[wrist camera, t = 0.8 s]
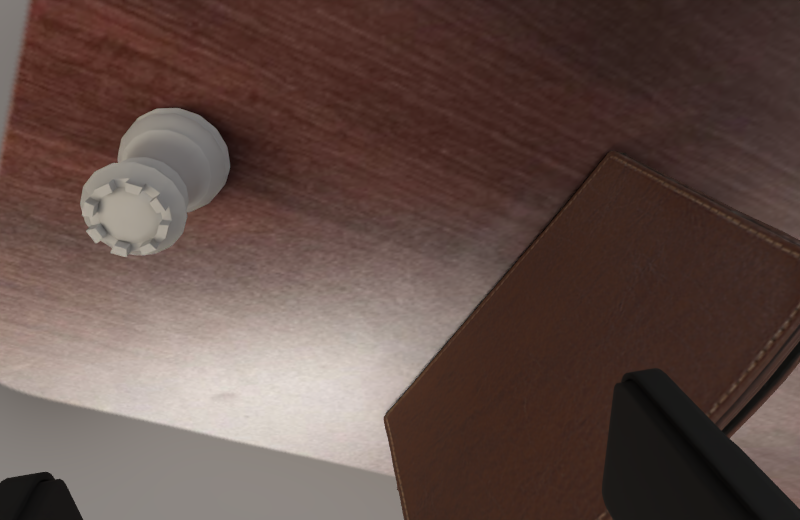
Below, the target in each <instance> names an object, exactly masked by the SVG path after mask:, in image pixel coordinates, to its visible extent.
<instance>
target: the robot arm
mask: <svg viewBox="0 0 800 520" xmlns="http://www.w3.org/2000/svg"><path fill="white" fill-rule="evenodd" d="M602 497H603V500H604V503H605V506H606V508H607V510H608V512H609V514H610V515H611V517H612V519H613V520H800V509H799V508H798V507H797V506H796V505H795V504H794V503H793V502H792V501H791V500H790V499H789V498H788V497H787V496H786V495H785V494H784V493H783V492H782V491H781V490H780V489H779V487H778V486H777V485H776V484H775V483H774V482H773V481H772V480H771V479H770V478H769V477H768V476H767V475H766V474H765V473H764V472H763V471H762V470H761V469H760V468H759V467H758V466H757V465H756V464H755V463H754V462H753V461H752V460H751V459H750V458H749V457H748V456H747V455H746V454H745V453H744V452H743V451H742V450H741V449H740V448H739V447H738V446H737V445H736V444H735V443H734V442H732V441H731V440H730V439H729V438H728V437H727V436H726V435H725V434H724V433H723V432H722V431H721V430H720V429H719V428H718V427H717V426H716V425H715V424H714V423H713V422H712V421H711V419H710V418H709V417H708V416H707V415H706V414H705V413H704V412H703V411H702V410H701V409H700V408H699V407H698V406H697V405H696V404H695V403H694V402H693V401H692V400H691V399H690V398H689V397H688V396H687V395H686V394H685V393H684V392H683V391H682V390H681V389H680V388H679V387H678V386H677V385H676V383H675V382H674V381H673V380H672V379H671V378H670V377H669V376H668V375H667V374H666V373H665V372H663V371H662V370H661V369H658V368H652V369H646V370H640V371H634V372H629V373H625V374H624V375H623V377H622V380H621V382H620V383H616V385H615V386H614V391H613V399H612V407H611V416H610V424H609V432H608V440H607V448H606V457H605V465H604V473H603V481H602ZM0 520H83V518H82V516H81V514H80V512H79V510H78V508H77V506H76V504H75V502H74V500H73V498H72V496H71V494H70V492H69V490H68V488H67V486H66V484H65V483H64V481H63V480H61V479H56V480H55V479H54V477H53V476H52V475H51V474H50V473H48V472H41V473H35V474H29V475H23V476H18V477H12V478H7V479H5V480H3V481H1V483H0Z"/></svg>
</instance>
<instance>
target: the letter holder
mask: <svg viewBox="0 0 800 520" xmlns="http://www.w3.org/2000/svg"><path fill="white" fill-rule="evenodd" d="M799 363H800V240H798V239H796V238H794V237H792V236H790V235H789V234H787V233H785V232H783V231H781V230H779V229H776V228H774V227H772V226H769V225H767V224H765V223H763V222H761V221H759V220H757V219H754V218H752V217H750V216H748V215H746V214H744V213H742V212H740V211H737V210H735V209H734V208H732V207H730V206H728V205H726V204H723V203H721V202H719V201H717V200H716V199H714V198H712V197H710V196H708V195H706V194H704V193H703V192H700V191H698V190H696V189H694V188H692V187H690V186H688V185H686V184H684V183H682V182H680V181H678V180H676V179H674V178H672V177H670V176H668V175H666V174H664V173H661V172H659V171H657V170H656V169H654V168H652V167H649V166H647V165H645V164H643V163H640V162H638V161H636V160H634V159H632V158H630V157H628V156H627V154H625V153H621V152H616V151H613V150H612V151H610V152H609V153H607V155H606V157H605V158H604V159H603V160H602V161H601V162H600V164H599V165H598V166H597V168H596V169H595V170H594V171H593V172H592V174H591V175H590V176H589V177H588V179H587V180H586V181H585V182H584V183H583V185H582V186H581V187H580V188H579V189H578V191H577V192H576V193H575V194H574V195H573V197H572V198H571V199H570V200H569V201H568V203H567V204H566V205H565V206H564V207H563V208H562V210H561V211H560V212H559V213H558V214H557V216H556V217H555V218H554V219H553V220H552V221H551V223H550V224H549V225H548V226H547V227H546V229H545V230H544V231H543V232H542V233H541V234H540V235H539V236H538V237H537V239H536V240H535V241H534V242H533V243H532V245H531V246H530V247H529V248H528V249H527V250H526V251H525V253H524V254H523V255H522V256H521V257H520V258H519V260H518V261H517V262H516V263H515V264H514V265H513V267H512V268H511V269H510V270H509V271H508V272H507V274H506V275H505V276H504V277H503V278H502V279H501V280H500V282H499V283H498V284H497V285H496V286H495V288H494V289H493V290H492V291H491V292H490V293H489V294H488V296H487V297H486V298H485V299H484V300H483V301H482V303H481V304H480V305H479V306H478V307H477V308H476V310H475V311H474V312H473V313H472V314H471V316H470V317H469V318H468V319H467V320H466V321H465V322H464V324H463V325H462V326H461V327H460V328H459V330H458V331H457V332H456V333H455V334H454V336H453V337H452V338H451V339H450V340H449V341H448V343H447V344H446V345H445V346H444V347H443V348H442V350H441V351H440V352H439V353H438V354H437V356H436V357H435V358H434V359H433V360H432V361H431V363H430V364H429V365H428V366H427V367H426V368H425V370H424V371H423V372H422V373H421V374H420V376H419V377H418V378H417V379H416V380H415V381H414V383H413V384H412V385H411V386H410V387H409V388H408V390H407V391H406V392H405V393H404V395H403V396H402V397H401V398H400V399H399V400H398V401H397V402H396V404H395V405H394V406H393V407H392V408H391V409H390V410H389V411H388V412H387V413H386V415H385V416H384V424H385V429H386V433H387V437H388V441H389V446H390V451H391V456H392V462H393V467H394V472H395V476H396V481H397V490H398V491H399V495H400V500H401V506H402V510H403V516H404V520H613V519H612V517H611V515H610V514H609V512H608V510H607V508H606V506H605V503H604V500H603V497H602V481H603V473H604V465H605V457H606V448H607V440H608V432H609V424H610V416H611V407H612V399H613V391H614V386H615V385H616V383H620V382H621V380H622V377H623V375H624V374H625V373H629V372H634V371H640V370H646V369H652V368H658V369H661V370H662V371H663V372H665V373H666V374H667V375H668V376H669V377H670V378H671V379H672V380H673V381H674V382H675V383H676V385H677V386H678V387H679V388H680V389H681V390H682V391H683V392H684V393H685V394H686V395H687V396H688V397H689V398H690V399H691V400H692V401H693V402H694V403H695V404H696V405H697V406H698V407H699V408H700V409H701V410H702V411H703V412H704V413H705V414H706V415H707V416H708V417H709V418H710V419H711V421H712V422H713V423H714V424H715V425H716V426H717V427H718V428H719V429H720V430H721V431H722V432H723V433H724V434H725V435H726V436H727V437H728V438H730V437H731V436H732V435H733V434H734V433H735V432H736V431H737V430H738V429H739V428H740V427H741V426H742V425H743V424H744V423H745V422H746V421H747V420H748V419H749V418H750V417H751V416H752V415H753V414H754V413H755V412H756V411H757V410H758V409H759V408H760V407H761V406H762V405H763V404H764V402H765V401H766V400H767V399H768V398H769V397H770V396H771V395H772V394H773V393H774V392H775V391H776V390H777V389H778V387H779V386H780V385H781V384H782V383H783V382H784V381H785V380H786V379H787V377H788V376H789V375H790V374H791V372H792V371H793V370H794V369H795V367H796V366H797V365H798V364H799Z"/></svg>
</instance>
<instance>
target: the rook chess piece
mask: <svg viewBox="0 0 800 520" xmlns="http://www.w3.org/2000/svg"><path fill="white" fill-rule="evenodd" d="M229 170H230V161H229V154H228V147H227V146H226V144H225V142H224V140H223V139H222V137H221V135H220V134H219V132H218V130H217V129H216V128H215V127H214V126H212V125H211V124H210V123H209V122H207V121H206V120H205V119H204V118H202V117H201V116H200V115H198V114H195V113H192V112H189V111H186V110H183V109H180V108H162V109H155V110H153V111H151V112H149V113H147V114H145V115H143V116H140V117H138V119H137V120H136V121H135V122H134V123H133V125H132V126H131V127H130V128H129V130H128V131H127V132H126V133H125V135H124V136H123V137H122V139H121V144H120V149H119V154H118V163H112V164H110V165H108V166H106V167H104V168H101V169H99V170H97V171H95V172H94V173H93V175H92V176H91V177H90V178H89V180H88V181H87V182H86V184H85V185H84V186H83V191H82V197H81V202H80V205H81V209H82V216H84V220H85V223H86V224H87V225H88V227H89V228H88V229H87V230H86V231H87V233H88V234H89V235H90V237H91V238H92V239H93V240H94V242H95V243H98V242H99V241H100V240H101V241H102V242H104V243H105V244H107V245H108V246H110V247H111V248H112V250H111V252H110V253H113V254H117V255H120V256H124V257H127V256H128V254H132V255H142V256H144V255H147V254H156V253H158V252H160V251H162V250H164V249H167V248H169V247H171V246H172V245H173V244H174V243H175V242H176V240H177V239H178V238H179V237H180V236H181V235H182V234H183V231H184V227H185V223H186V219H187V212H191V211H194V210H196V209H198V208H200V207H202V206H204V205H206V204H209V203H210V202H211V201H212V199H213V198H214V197H215V196H216V195H217V194H218V193H219V191H220V190H221V189H222V188H223V186H224V185H225V184H226V180H227V177H228V173H229Z"/></svg>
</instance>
